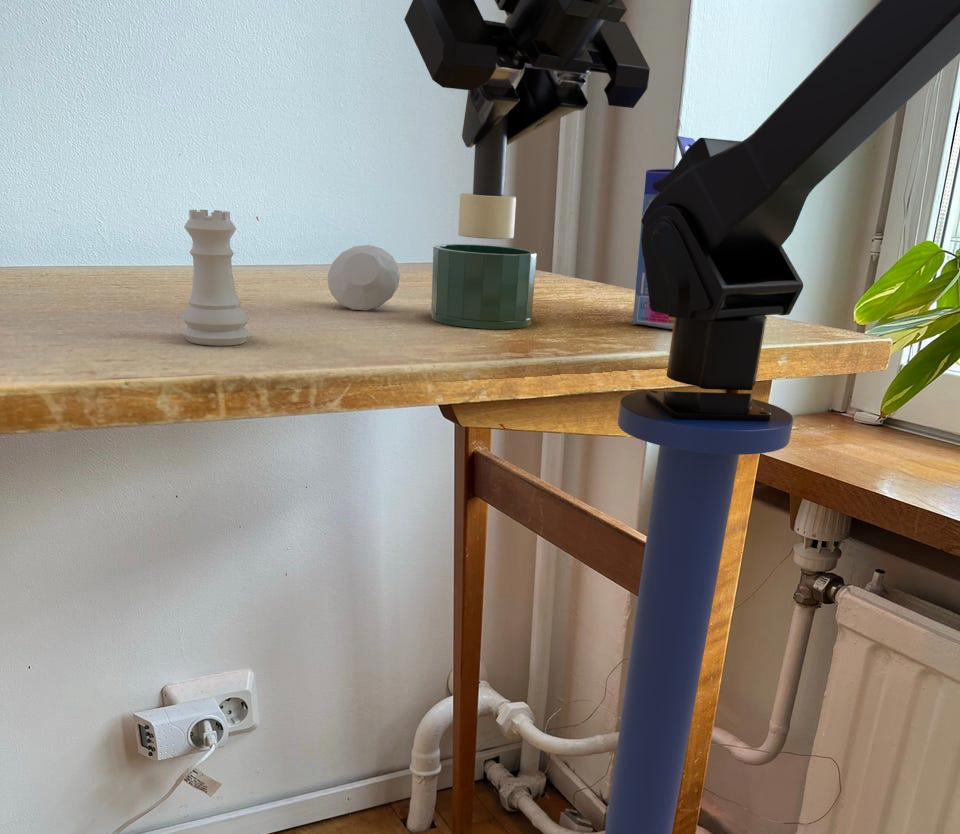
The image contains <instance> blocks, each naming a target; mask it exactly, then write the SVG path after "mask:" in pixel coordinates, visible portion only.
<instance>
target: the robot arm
mask: <svg viewBox="0 0 960 834" xmlns="http://www.w3.org/2000/svg"><path fill="white" fill-rule="evenodd" d="M494 3H495V4H496V6H497V8H498V10H499V11H503V12H505V13H504V14H505V15H506V18H505V20H504V22H500V21H493V20H489V19H484V16H483V15H482V13H481V11H480V9H479V7H478V4H477V2H476V0H412V1H411V3H410V5H409V8H408V10H407V13H406V15H405V17H404V18H403V21H404V22H405V24H406V27H407V29H408V31H409V33H410V35H411V38H412V39H413V41H414V43H415V46H416V47H417V50H418V52H419V54H420V57H421V58H422V61H423V63H424V66H425V67H426V70H427V71H428V73H429V76H430V79H432V81H433V82H435V83H436V84H437V85H439V86H440V87H441V88H445V89H454V90H464V91H467V96H466V104H465V110H464V117H463V124H462V132H461V139H462V141H463V143H464V145H465V147H466V148H469V149H470V148H473V147H475V144H476V143H477V142H479V141H480V140H481V139H482V138H483V137H484V136H485V135H486V134H487V133H488V132H489V131H490V130H491V129H492V128H493V127H494V126H495V125H496V124H497V123H498V122H499V121H500V120H501V119H502V118H503V117H504V116H505V115H506V114H507V113H508V128H507V145H506V147H507V146H509V145H510V144H512V143H514V142H516V141H518V140H519V139H522V138H523V137H525V136H528V135H529V134H530V133H532V132H534V131H536V130H539V129H540V128H543V127H544V126H546V125H548V124H550V123H553V122H555V121H557V120H559V119H561V118H563V117H566V116H568V115H569V114H572V113H574V112H577V111H579V112H580V111H581V112H582V111H584V110H585V109H586V108H587V107H588V106H589V101H588V99H587V97H586V95H585V93H584V91H583V88H584V86H585V84H586V80H585V79H586V78H587V77H588V76H590V74H591V73H592V72H593V73H601V74H607V75H608V77H609V78H610V80H609V82H608V83H607V84H606V86H605V87H604V88H603V93H604V98H605V101H606V103H607V106H608V107H609V106H610V107H619V108H620V107H621V108H629V109H634V108H635V107H636V106H637V104H638V102H639V101H640V100H641V98H642V97H643V95H644V94H645V93H646V91H647V90H648V88H649V79H650V71H651V68H650V66H649V64H648V61H647V60H646V58H645V57H644V55H643V53H642V50H641V48H640V47H639V45H638V43H637V41H636V39H635V37H634V36H633V33H632V31H631V29H630V28H629V26H628V23H627V22H626V21H622V20H623V19H622V18H623V17H624V15H625V14H626V13H627V11H628V8H627V6H626V3H624V0H494ZM959 54H960V0H878V2H876V4H875V5H874V6H873V7H872V8H870V10H869V11H868V12H867V13H866V14H865V15H864V16H863V17H862V19H860V20H859V22H858V23H857V24H856V25H855V26H854V27H852V29H851V30H850V31H849V32H848V34H846V35H845V36H844V37H843V38H842V39H841V40H840V41H839V43H837V45H836V46H835V47H834V48H833V49H832V50H831V51H830V52H829V53H828V54H827V55H826V56H825V57H824V58H823V60H821V62H819V63H818V64H817V66H816V67H815V68H813V70H812V71H811V72H810V73H809V74H808V75H807V76H806V77H805V78H804V79H803V81H801V82H800V83H799V84H798V86H796V88H795V89H794V90H793V91H791V93H790V94H789V95H788V96H787V97H786V98H785V99H784V100H783V101H782V102H781V103H780V104H779V106H778V107H776V109H775V110H774V111H773V112H772V113H771V114H770V115H769V116H768V117H767V118H766V119H765V120H764V121H763V122H762V123H761V124H760V126H758V128H756V129H755V130H754V132H753V133H751V134H750V135H749V136H748V137H746V138H745V139H744V140H731V139H720V138H712V137H711V138H709V137H699V138H698V139H696V140H695V143H694V144H692V145H691V146H690V147H689V146H688V148H687V149H686V152H685V154H684V155H683V157H681V158H680V159H679V162H678V163H677V164H676V165H675V167H673V168H672V169H673V171H672V172H671V173H669V174H668V175H667V176H666V177H665V178H663V179H661V180H659V181H657V182H655V183H654V184H653V189H654V190H656V191H658V192H659V193H658V194H657V195H656V196H655V197H654V198H653V199H652V200H651V202H650V203H649V205H648V206H647V208H646V209H645V212H644V214H643V216H642V215H641V220H640V225H641V224H642V226H643V229H642V237H641V243H642V254H643V257H644V263H645V271H646V278H647V286H648V293H649V301H650V308H651V310H652V311H653V312H658V313H664V314H666V315H667V316H669V317H674V325H673V329H672V331H671V332H672V334H671V341H670V348H669V355H668V361H667V369H666V377H667V379H670V380H671V381H674V382H677V383H680V384H685V385H689V386H695V387H698V388H700V389H703V390H720V391H721V390H722V391H753V389H754V386H755V385H756V381H757V374H758V369H759V364H760V358H761V354H762V353H761V352H762V348H763V342H764V336H765V330H766V325H767V320H768V319H767V318H768V317H767V316H789V315H790V314H791V313H792V311H793V308H794V307H795V305H796V303H797V301H798V299H799V297H800V295H801V293H802V291H803V289H804V282H803V280H802V279H801V277H800V275H799V274H798V271H797V270H796V268H795V266H794V264H793V263H792V261H791V259H790V258H789V256H788V254H787V253H786V251H785V248H784V247H783V245H784V244H785V242H787V240H788V238H789V237H791V235H792V234H793V232H794V230H795V227H796V225H797V223H798V220H799V217H800V215H801V213H802V210H803V208H804V205H805V204H806V201H807V199H808V197H809V196H810V194H811V193H812V191H813V190H814V189H815V188H816V187H817V186H818V185H819V184H820V183H821V182H822V181H823V180H824V179H825V178H826V177H827V176H828V175H830V174H831V173H832V172H833V171H834V170H836V168H838V166H839V165H841V163H843V161H845V160H846V159H847V158H848V157H849V156H850V155H852V154H853V152H855V151H856V150H857V149H859V147H860V146H861V145H862V144H863V143H864V142H866V141H867V139H868V138H870V137H871V136H872V135H873V134H874V133H875V132H876V131H878V130H879V128H881V127H882V125H883V124H885V123H886V122H887V121H888V120H889V119H890V118H891V117H892V116H893V115H894V114H896V113H897V112H898V111H899V110H900V109H901V108H902V107H903V106H905V104H907V103H908V102H909V101H910V100H911V99H912V98H913V97H914V96H916V94H917V93H918V92H920V90H922V89H923V88H924V87H925V86H926V85H927V84H928V83H929V82H930V81H931V80H933V78H935V77H936V75H938V74H939V73H940V72H941V71H942V70H943V69H944V68H945V67H946V66H948V65H949V64H950V63H951V62H952V61H953V60H954V59H955V58H956V57H957V56H958V55H959ZM521 74H522V75H521ZM519 75H521V78H520V79H519V81H518V82H517V85H516V86H514V83H515V82H516V80H517V78H518V76H519ZM646 391H647V393H646V398H648V399H649V400H650V401H652V402H653V403H654V404H655V405H657V406H658V407H659V408H661V409H662V410H663V411H665V412H666V413H667V414H669V415H670V416H671V417H673V418H675V419H683V420H730V421H769V420H770V416H771V414H770V413H769V412H767V411H765V410H764V409H762V408H760V407H759V406H757V405H755V404H754V403H752V399H754V398H753V397H754V393H746V392H745V393H744V392H709V391H708V392H707V391H705V392H702V391H671V390H670V391H667V390H646Z"/></svg>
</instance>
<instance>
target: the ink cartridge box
mask: <svg viewBox="0 0 960 834" xmlns="http://www.w3.org/2000/svg"><path fill="white" fill-rule="evenodd" d="M676 142H677V145H678V149H679V152H680V156H681V158H682V157H683V155H684V154H685V152H686V151H687V149H686V147H688V148H689V147H690V146H691V145H692V144H694V143H695V142H696V140H695V139H694V138H692V137H686V136H679V135H676ZM673 169H674V168H652V169H646V170H645V178H644V179H645V180H644V191H643V199H642V212H641V217H642V216H643V214H644V212H645V209H646V208H647V206H648V205H649V203H650V202H651V200H652V199H653V198H654V197H655V196H656V195H657V194H658V193H659V192H658V191H656V190H654V189H653V184H654V183H655V182H657V181H659V180H661V179H663V178H665V177H666V176H667V175H668V174H669V173H671V172H672V171H673ZM640 225H641V226H640V233H639V234H640V236H639V245H638V256H637V257H638V258H637V269H636V277H635V293H634V303H633V315H632V325H641V326H648V327H653V328H660V329H665V330H673V325H674V317H669V316H667V315H666V314H664V313H658V312H653V311H652V310H651V308H650V301H649V293H648V286H647V278H646V271H645V263H644V257H643V254H642V243H641V237H642V229H643V226H642V224H641V223H640Z"/></svg>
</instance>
